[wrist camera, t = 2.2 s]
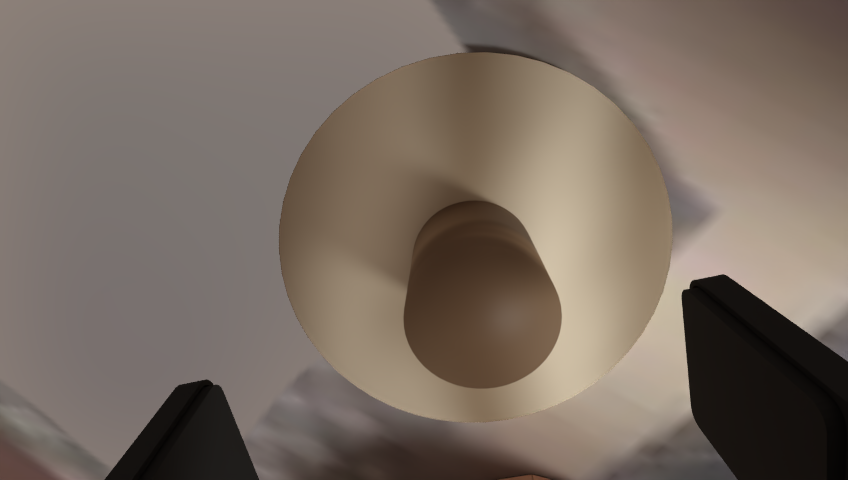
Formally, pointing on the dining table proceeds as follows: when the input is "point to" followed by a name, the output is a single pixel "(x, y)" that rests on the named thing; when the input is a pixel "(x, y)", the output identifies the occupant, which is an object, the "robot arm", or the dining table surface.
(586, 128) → the lid
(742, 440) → the robot arm
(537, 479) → the bowl
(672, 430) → the dining table surface
